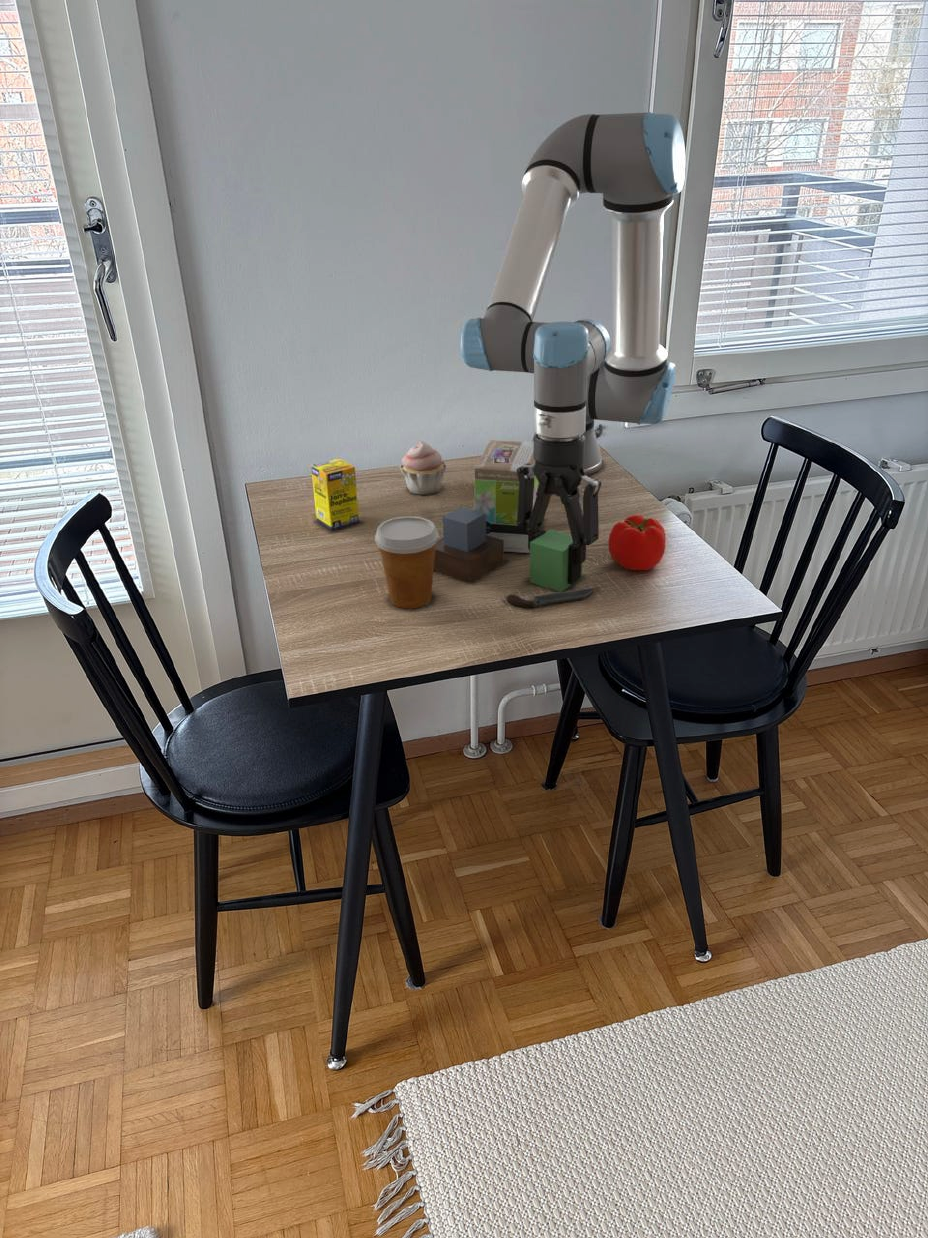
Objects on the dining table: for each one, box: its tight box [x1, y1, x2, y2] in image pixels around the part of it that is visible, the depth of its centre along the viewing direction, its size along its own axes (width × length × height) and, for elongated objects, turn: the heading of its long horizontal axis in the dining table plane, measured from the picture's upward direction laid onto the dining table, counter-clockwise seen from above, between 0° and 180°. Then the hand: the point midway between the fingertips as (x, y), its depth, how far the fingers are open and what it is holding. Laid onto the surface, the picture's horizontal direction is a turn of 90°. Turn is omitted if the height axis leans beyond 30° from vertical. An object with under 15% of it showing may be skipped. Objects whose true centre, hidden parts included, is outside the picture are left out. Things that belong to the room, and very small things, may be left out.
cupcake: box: [398, 439, 448, 496], centre depth 180 cm, size 9×9×10 cm
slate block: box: [441, 506, 486, 552], centre depth 150 cm, size 5×5×5 cm
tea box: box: [474, 439, 539, 554], centre depth 159 cm, size 15×10×15 cm, turn 168°
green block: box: [529, 528, 583, 593], centre depth 146 cm, size 6×6×7 cm
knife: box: [506, 586, 596, 608], centre depth 142 cm, size 14×4×1 cm, turn 104°
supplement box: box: [310, 458, 360, 532], centre depth 167 cm, size 6×6×11 cm
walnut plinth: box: [433, 535, 505, 584], centre depth 152 cm, size 9×9×4 cm
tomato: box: [607, 514, 667, 571], centre depth 150 cm, size 9×9×8 cm
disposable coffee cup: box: [374, 515, 439, 609], centre depth 141 cm, size 10×10×12 cm
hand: (556, 575), depth 147 cm, fingers closed on green block, 6 cm apart
